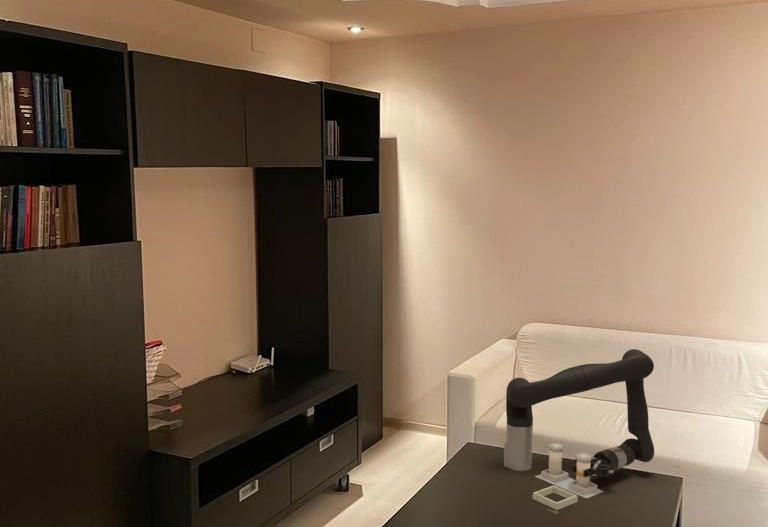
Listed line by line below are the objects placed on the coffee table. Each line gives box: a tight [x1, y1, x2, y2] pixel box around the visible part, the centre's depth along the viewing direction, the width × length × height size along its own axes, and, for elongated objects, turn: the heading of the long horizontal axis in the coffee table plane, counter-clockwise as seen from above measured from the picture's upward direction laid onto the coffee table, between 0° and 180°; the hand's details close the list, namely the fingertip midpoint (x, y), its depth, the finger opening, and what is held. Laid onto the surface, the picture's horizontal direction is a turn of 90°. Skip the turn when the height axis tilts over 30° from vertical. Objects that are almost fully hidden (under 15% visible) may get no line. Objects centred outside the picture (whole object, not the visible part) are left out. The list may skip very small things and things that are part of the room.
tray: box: [532, 484, 579, 515], centre depth 233 cm, size 10×10×4 cm
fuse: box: [548, 441, 564, 477], centre depth 251 cm, size 5×5×12 cm
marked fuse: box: [575, 451, 592, 489], centre depth 241 cm, size 5×5×12 cm
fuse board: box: [534, 468, 604, 499], centre depth 246 cm, size 22×9×4 cm, turn 36°
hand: (578, 471), depth 239 cm, fingers closed on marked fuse, 4 cm apart
